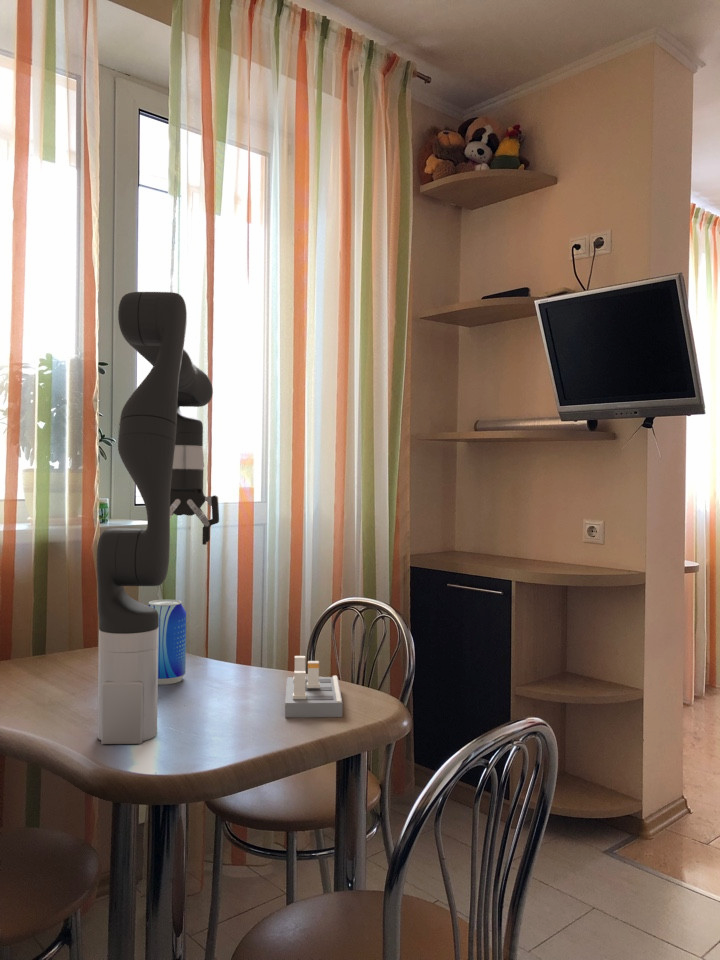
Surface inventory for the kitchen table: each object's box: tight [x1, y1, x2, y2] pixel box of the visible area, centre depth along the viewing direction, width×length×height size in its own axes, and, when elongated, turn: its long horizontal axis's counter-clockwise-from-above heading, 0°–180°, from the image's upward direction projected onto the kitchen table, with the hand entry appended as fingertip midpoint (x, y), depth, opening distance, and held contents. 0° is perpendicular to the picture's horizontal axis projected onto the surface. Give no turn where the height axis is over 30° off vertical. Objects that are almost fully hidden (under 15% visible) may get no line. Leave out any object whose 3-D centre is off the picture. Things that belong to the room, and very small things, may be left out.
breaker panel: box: [284, 655, 343, 718], centre depth 150 cm, size 18×10×7 cm, turn 4°
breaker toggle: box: [307, 660, 320, 688], centre depth 150 cm, size 2×2×5 cm
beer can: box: [148, 599, 187, 686], centre depth 165 cm, size 8×8×16 cm
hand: (184, 544), depth 171 cm, fingers open, 8 cm apart
